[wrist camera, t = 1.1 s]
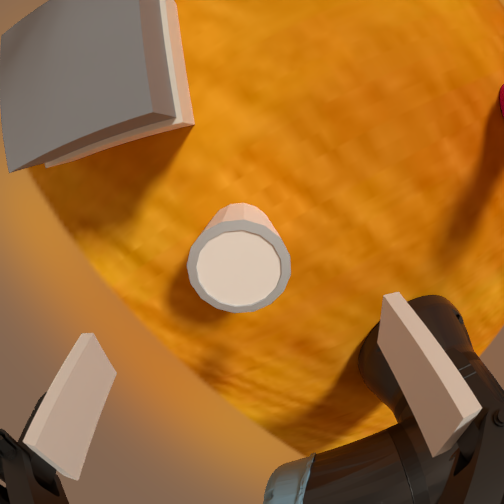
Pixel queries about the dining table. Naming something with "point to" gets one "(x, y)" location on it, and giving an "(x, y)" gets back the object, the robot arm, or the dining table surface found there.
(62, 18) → the tower top
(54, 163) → the tower base
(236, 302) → the white cup
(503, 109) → the pepper mill
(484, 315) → the dining table surface
